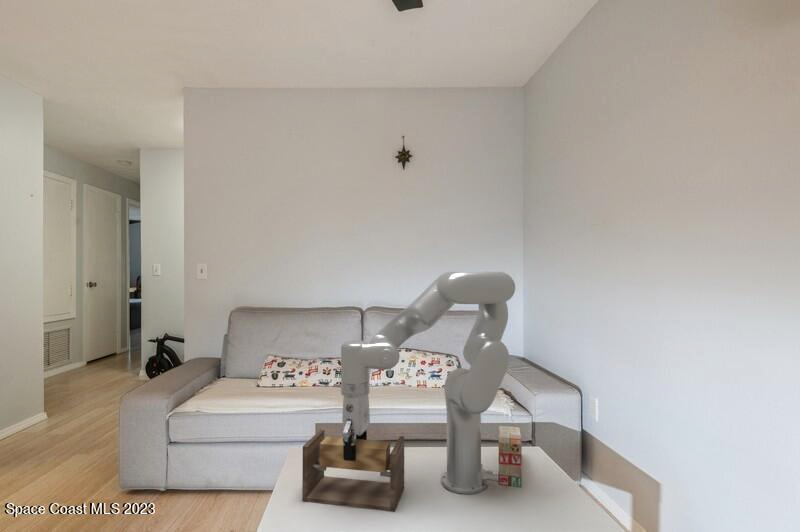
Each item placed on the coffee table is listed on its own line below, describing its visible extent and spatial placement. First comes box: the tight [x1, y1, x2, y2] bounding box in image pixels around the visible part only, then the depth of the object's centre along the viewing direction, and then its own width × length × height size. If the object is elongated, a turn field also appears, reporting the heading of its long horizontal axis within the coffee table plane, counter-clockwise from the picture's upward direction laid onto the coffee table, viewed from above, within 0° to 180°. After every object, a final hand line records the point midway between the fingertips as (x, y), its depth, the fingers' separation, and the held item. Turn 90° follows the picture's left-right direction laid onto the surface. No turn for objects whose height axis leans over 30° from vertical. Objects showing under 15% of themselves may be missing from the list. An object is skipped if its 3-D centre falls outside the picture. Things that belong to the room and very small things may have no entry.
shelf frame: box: [301, 429, 405, 512], centre depth 115 cm, size 24×12×14 cm, turn 78°
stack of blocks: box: [498, 425, 523, 488], centre depth 129 cm, size 21×6×12 cm, turn 166°
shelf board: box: [320, 436, 391, 473], centre depth 115 cm, size 18×5×6 cm, turn 78°
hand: (355, 452), depth 115 cm, fingers open, 9 cm apart
